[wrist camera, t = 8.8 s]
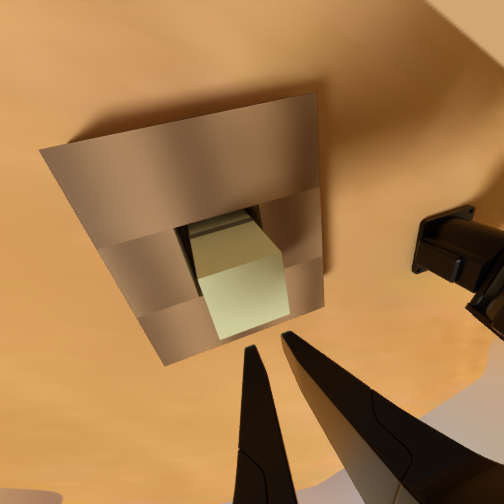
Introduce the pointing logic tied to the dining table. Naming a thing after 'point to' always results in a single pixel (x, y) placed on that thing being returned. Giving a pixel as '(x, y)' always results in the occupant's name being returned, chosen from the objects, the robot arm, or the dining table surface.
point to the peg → (238, 272)
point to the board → (198, 208)
